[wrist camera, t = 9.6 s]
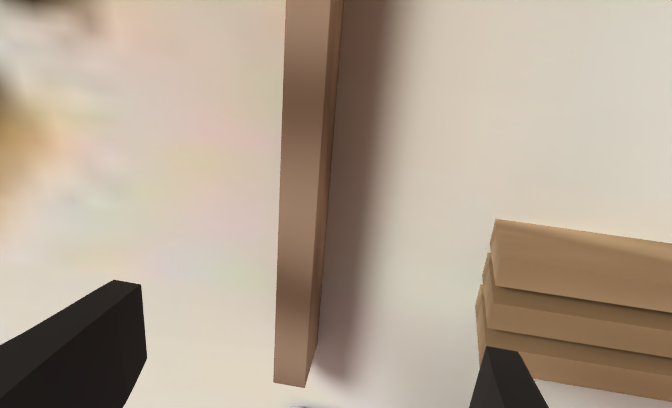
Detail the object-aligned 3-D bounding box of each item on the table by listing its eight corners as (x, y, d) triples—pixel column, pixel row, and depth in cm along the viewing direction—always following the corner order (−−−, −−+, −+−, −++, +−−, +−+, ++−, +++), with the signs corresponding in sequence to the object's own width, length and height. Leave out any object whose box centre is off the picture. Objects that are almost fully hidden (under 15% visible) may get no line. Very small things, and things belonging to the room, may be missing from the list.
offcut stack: (753, 346, 22) (806, 424, 18) (475, 303, 23) (479, 369, 19) (800, 259, 20) (867, 328, 17) (495, 216, 21) (503, 273, 18)
